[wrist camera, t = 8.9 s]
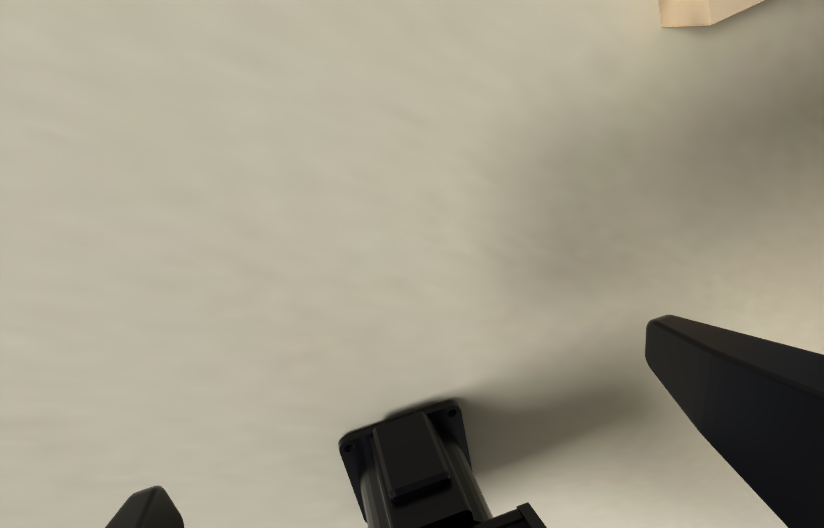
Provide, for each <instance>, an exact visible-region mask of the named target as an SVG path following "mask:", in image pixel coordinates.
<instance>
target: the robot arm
mask: <svg viewBox="0 0 824 528" xmlns="http://www.w3.org/2000/svg"><path fill="white" fill-rule="evenodd" d="M645 357H646V361H647V363H648V365H649V367H650V368H651V370H652V371H653V372H654V373H655V375H656V376H657V377H658V379H659V380H660V381H661V383H662V384H663V385H664V387H665V388H666V389H667V390H668V392H669V393H670V394H671V396H672V397H673V398H674V400H675V401H676V402H677V403H678V405H679V406H680V407H681V409H682V410H683V411H684V413H685V414H686V415H687V416H688V418H689V419H690V420H691V422H692V423H693V424H694V425H695V427H696V428H697V429H698V430H699V432H700V433H701V434H702V435H703V436H704V437H705V438H706V439H707V441H708V442H709V443H710V444H711V445H712V446H713V447H714V448H715V449H716V450H717V451H718V453H719V454H720V455H721V456H722V457H723V458H724V459H725V460H726V461H727V462H728V463H729V464H730V465H731V466H732V468H733V469H734V470H735V471H736V472H737V473H738V474H739V475H740V476H741V477H742V478H743V479H744V480H745V482H746V483H747V484H748V485H749V486H750V487H751V488H752V489H753V490H754V491H755V492H756V493H757V494H758V496H759V497H760V498H761V499H762V500H763V501H764V502H765V503H766V504H767V505H768V506H769V507H770V508H771V509H772V511H773V512H774V513H775V514H776V515H777V516H778V517H779V518H780V519H781V520H782V521H783V522H784V523H785V525H786V526H787V527H788V528H824V355H822V354H819V353H815V352H811V351H807V350H803V349H799V348H796V347H792V346H788V345H784V344H780V343H777V342H773V341H769V340H765V339H761V338H758V337H754V336H750V335H746V334H742V333H738V332H735V331H731V330H727V329H723V328H719V327H716V326H712V325H708V324H704V323H700V322H696V321H693V320H689V319H685V318H681V317H677V316H674V315H665V316H662V317H659V318H656V319H653V320H650V321H649V322H648V324H647V327H646V344H645ZM451 409H453V410H452V411H450V412H448V411H449V410H451ZM338 444H339V451H340V454H341V457H342V460H343V462H344V465H345V468H346V471H347V473H348V476H349V479H350V482H351V484H352V487H353V490H354V493H355V495H356V498H357V501H358V504H359V506H360V509H361V512H362V515H363V517H364V520H365V522H366V523H367V524H368V528H547V527H546V526H545V525H544V523H543V522H542V521H541V519H540V518H539V516H538V515H537V514H536V512H535V511H534V510H533V508H532V507H531V506H530V504H529V503H528V502H527V503H525V504H522V505H519V506H517V509H515V510H513V511H510V512H507V513H505V514H502V515H499V516H497V517H494V518H493V516H492V514H491V512H490V510H489V507H488V505H487V503H486V501H485V499H484V497H483V495H482V492H481V490H480V488H479V486H478V484H477V482H476V479H475V477H474V475H473V473H472V468H471V462H470V457H469V452H468V446H467V441H466V436H465V430H464V425H463V420H462V414H461V410H460V408H459V406H458V404H457V402H455V401H452V400H451V401H446V402H443V403H440V404H438V405H435V406H432V407H429V408H426V409H423V410H420V411H417V412H414V413H411V414H408V415H405V416H402V417H399V418H396V419H393V420H390V421H387V422H384V423H381V424H379V425H376V426H373V427H370V428H367V429H364V430H361V431H358V432H355V433H352V434H349V435H346V436H344V437H342V438H341V439H340V440H339V443H338ZM350 444H351V445H350ZM347 445H350V446H347ZM105 528H184V523H183V519H182V516H181V515H180V513H179V511H178V510H177V508H176V507H175V505H174V503H173V502H172V500H171V499H170V497H169V496H168V494H167V492H166V491H165V490H164V488H162V487H161V486H153V487H150V488H147V489H144V490H141V491H138V492H136V493H134V494H132V495H131V496H130V497H129V498H128V500H127V501H126V502H125V503H124V505H123V506H122V507H121V508H120V510H119V511H118V512H117V513H116V515H115V516H114V517H113V518H112V520H111V521H110V522H109V523H108V525H107V526H106V527H105Z"/></svg>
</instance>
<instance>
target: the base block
mask: <svg viewBox="0 0 824 528" xmlns="http://www.w3.org/2000/svg"><path fill="white" fill-rule="evenodd" d="M762 1H764V0H659V7H660V17H661V27H680V26H706V25H712V24H714V23H717V22H719V21H721V20H723V19H725V18H727V17H730V16H732V15H734V14H736V13H738V12H740V11H742V10H745V9H747V8H749V7H751V6H753V5H755V4H758V3H760V2H762Z"/></svg>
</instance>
